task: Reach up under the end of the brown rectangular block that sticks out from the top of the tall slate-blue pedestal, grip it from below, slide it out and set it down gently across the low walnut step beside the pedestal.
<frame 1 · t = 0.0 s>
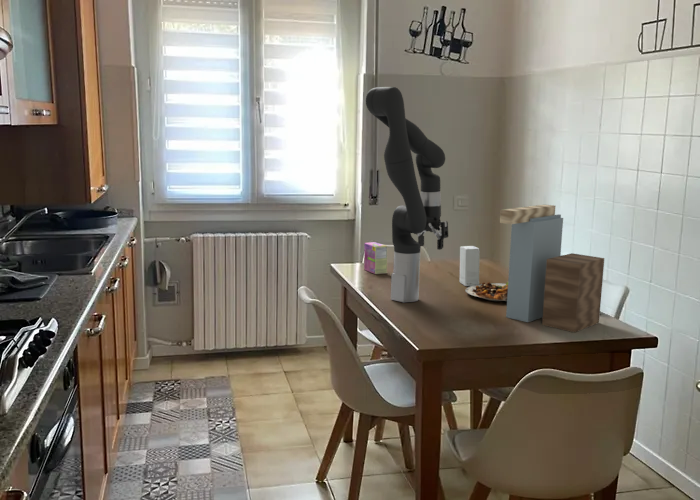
hand: (430, 247, 254), 17 cm above the table, tool pointing down, fingers open, 8 cm apart
low stand: (570, 323, 221), on the table
brown rectangular block: (528, 220, 221), point 32 cm above the table, touching pedestal
plate of food: (503, 297, 256), on the table
pedestal: (531, 314, 231), on the table
box: (375, 272, 295), on the table
skincare box: (468, 284, 274), on the table
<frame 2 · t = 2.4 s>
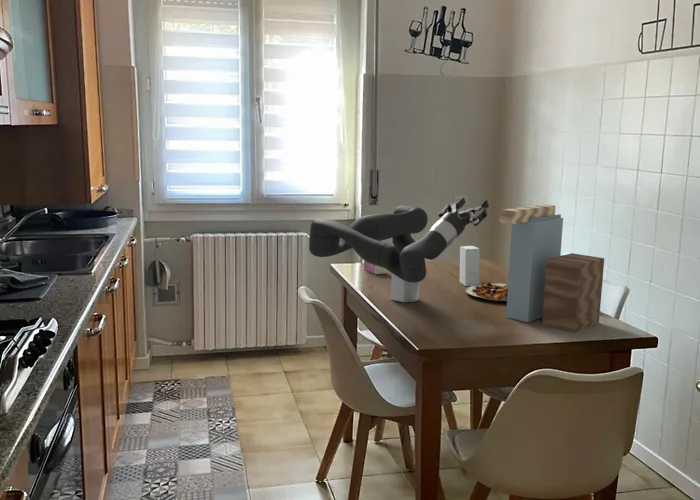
hand: (475, 201, 212), 38 cm above the table, tool pointing upward, fingers open, 8 cm apart
nothing on the table moved.
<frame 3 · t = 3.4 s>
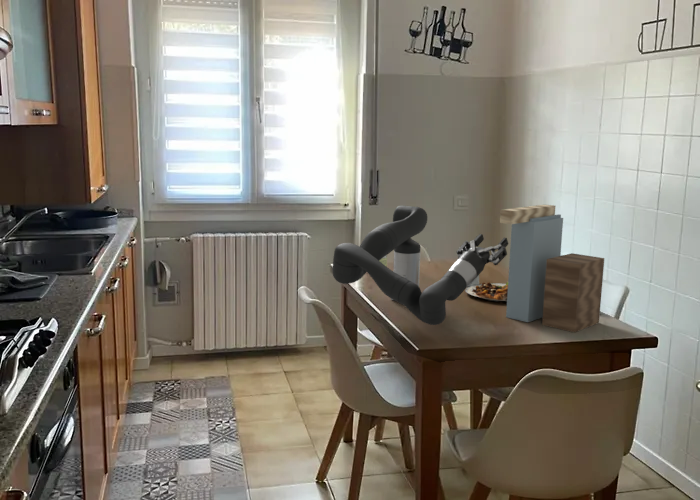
hand: (494, 238, 208), 28 cm above the table, tool pointing upward, fingers open, 8 cm apart
nothing on the table moved.
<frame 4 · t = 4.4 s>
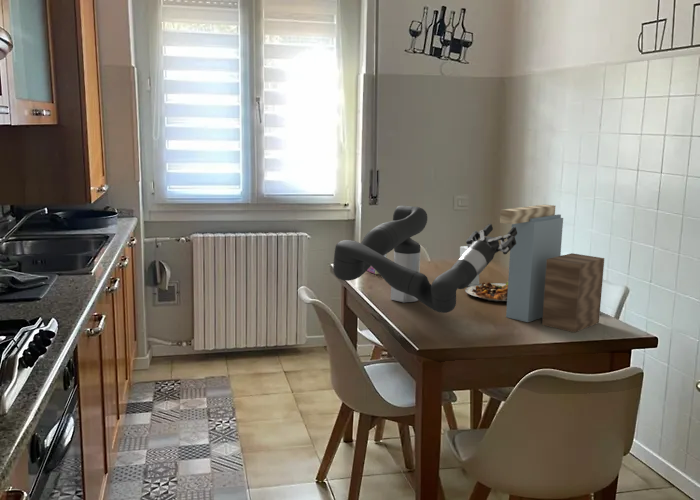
hand: (503, 227, 211), 31 cm above the table, tool pointing upward, fingers open, 8 cm apart
nothing on the table moved.
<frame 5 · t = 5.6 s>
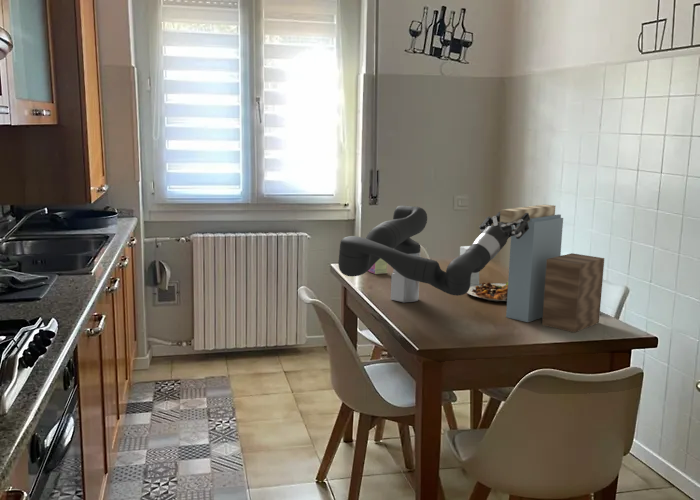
hand: (515, 213, 215), 35 cm above the table, tool pointing upward, fingers open, 8 cm apart
nothing on the table moved.
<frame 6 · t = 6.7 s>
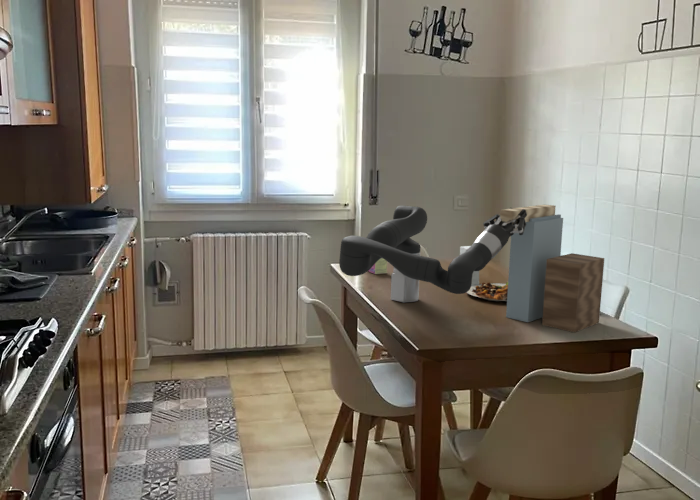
hand: (518, 210, 216), 35 cm above the table, tool pointing upward, fingers closed on brown rectangular block, 4 cm apart
brown rectangular block: (528, 220, 221), point 32 cm above the table, touching gripper, pedestal
everything else where it was.
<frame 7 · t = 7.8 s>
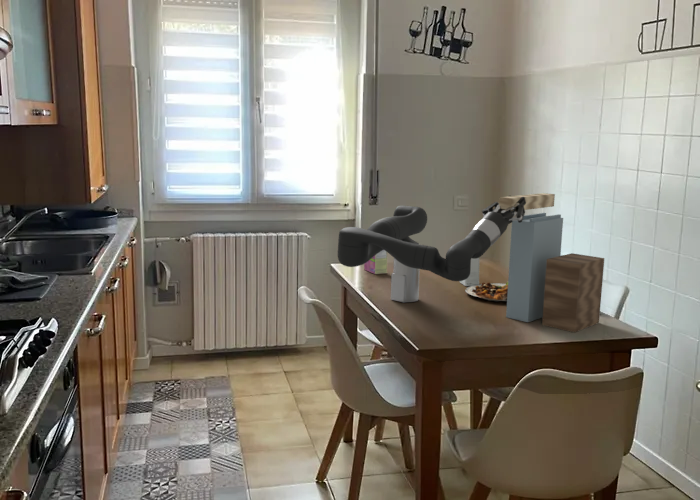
hand: (517, 198, 214), 39 cm above the table, tool pointing upward, fingers closed on brown rectangular block, 4 cm apart
brown rectangular block: (527, 208, 219), point 36 cm above the table, touching gripper
everything else where it was.
when the fingers open (26 cm above the table, at t = 13.5 s): brown rectangular block drops 1 cm, resting on low stand.
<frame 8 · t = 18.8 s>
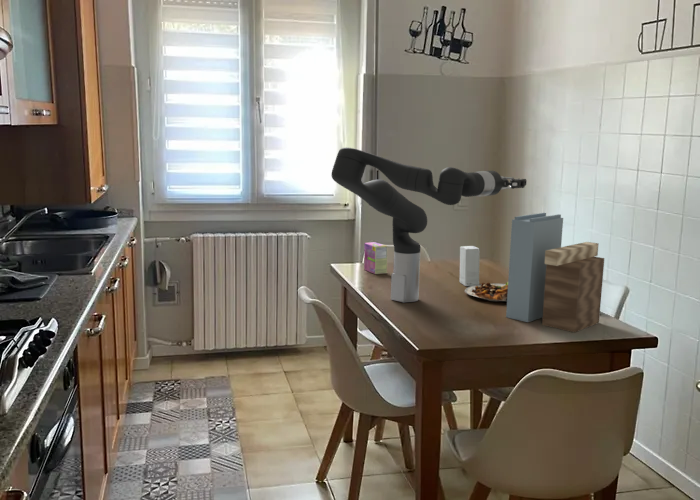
hand: (513, 181, 221), 44 cm above the table, tool horizontal, fingers open, 8 cm apart
brown rectangular block: (571, 259, 215), point 21 cm above the table, touching low stand
everything else where it was.
at the end: brown rectangular block inside the target area on the low stand (1.6 cm from its centre), point 21.0 cm above the low stand's base; brown rectangular block touching low stand; the gripper is holding nothing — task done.
